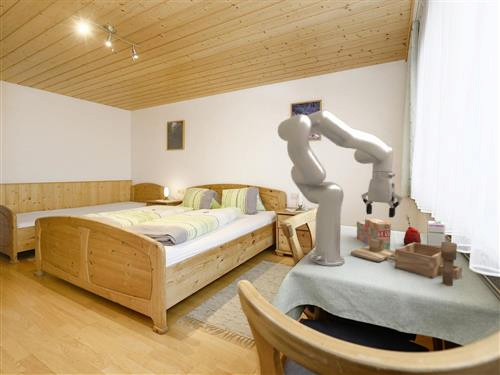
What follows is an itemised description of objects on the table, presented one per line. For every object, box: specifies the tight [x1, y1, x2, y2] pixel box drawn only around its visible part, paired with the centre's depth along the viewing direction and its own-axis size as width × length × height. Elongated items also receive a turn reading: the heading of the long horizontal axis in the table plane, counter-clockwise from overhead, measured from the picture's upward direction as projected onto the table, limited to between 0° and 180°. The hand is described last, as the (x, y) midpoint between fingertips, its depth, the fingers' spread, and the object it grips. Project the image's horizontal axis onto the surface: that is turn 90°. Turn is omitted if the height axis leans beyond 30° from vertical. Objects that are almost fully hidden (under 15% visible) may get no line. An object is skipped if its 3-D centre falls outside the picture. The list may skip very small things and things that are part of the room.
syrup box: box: [426, 220, 446, 247], centre depth 107 cm, size 6×6×14 cm
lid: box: [350, 238, 395, 262], centre depth 107 cm, size 16×17×7 cm
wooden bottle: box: [441, 241, 458, 287], centre depth 81 cm, size 4×4×13 cm
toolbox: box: [394, 242, 463, 280], centre depth 93 cm, size 16×17×7 cm
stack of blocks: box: [356, 218, 392, 250], centre depth 128 cm, size 21×6×12 cm, turn 2°
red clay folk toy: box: [403, 214, 422, 246], centre depth 122 cm, size 8×7×15 cm
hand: (379, 215), depth 111 cm, fingers open, 9 cm apart
